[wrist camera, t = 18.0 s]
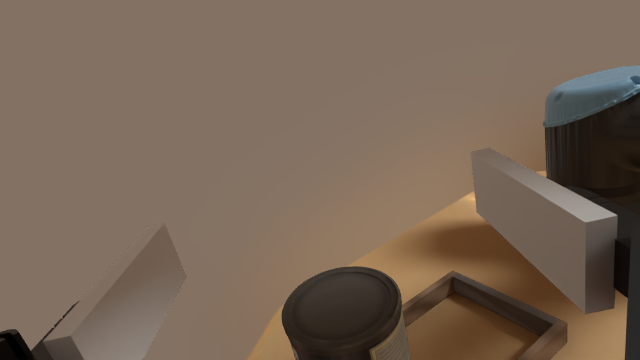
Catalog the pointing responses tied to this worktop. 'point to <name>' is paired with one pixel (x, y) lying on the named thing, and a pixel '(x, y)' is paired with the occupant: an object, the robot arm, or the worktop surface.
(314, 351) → the coffee can
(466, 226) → the worktop surface
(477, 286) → the wooden serving tray
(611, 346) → the worktop surface
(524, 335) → the worktop surface
